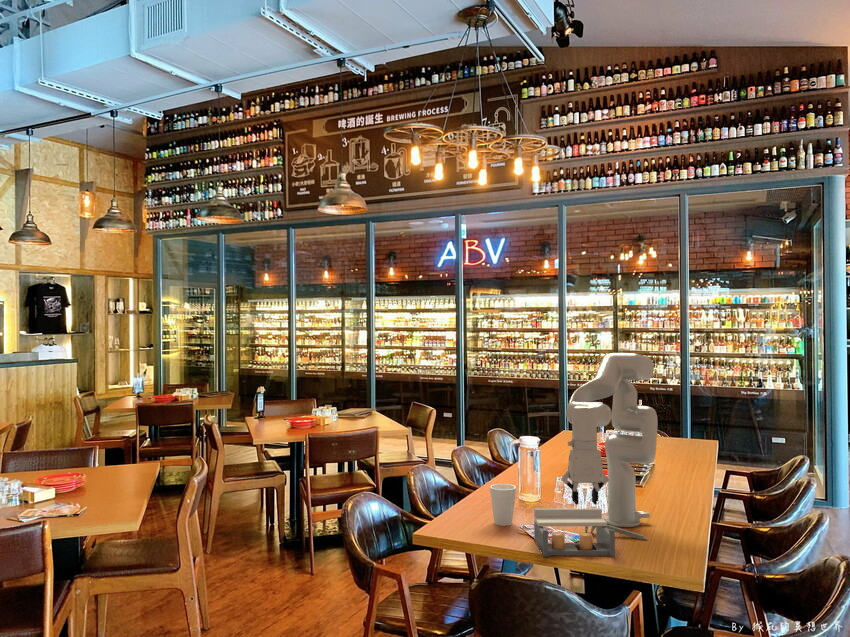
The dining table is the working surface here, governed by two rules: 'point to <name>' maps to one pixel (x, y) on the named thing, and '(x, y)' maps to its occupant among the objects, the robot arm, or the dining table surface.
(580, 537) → the peg
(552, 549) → the housing
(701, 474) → the dining table surface
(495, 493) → the foam cup
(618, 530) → the caliper
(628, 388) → the robot arm
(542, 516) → the lid
